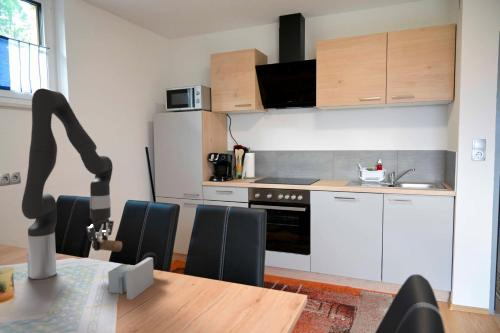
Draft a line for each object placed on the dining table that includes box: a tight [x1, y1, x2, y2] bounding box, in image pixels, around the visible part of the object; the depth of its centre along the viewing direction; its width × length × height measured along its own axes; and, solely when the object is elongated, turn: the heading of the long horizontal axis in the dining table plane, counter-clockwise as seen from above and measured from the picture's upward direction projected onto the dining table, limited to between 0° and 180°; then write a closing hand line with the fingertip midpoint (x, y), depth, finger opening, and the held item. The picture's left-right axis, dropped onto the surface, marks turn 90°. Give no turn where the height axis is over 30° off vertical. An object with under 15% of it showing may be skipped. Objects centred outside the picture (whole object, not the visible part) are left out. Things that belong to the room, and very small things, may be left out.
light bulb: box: [141, 252, 158, 271], centre depth 134 cm, size 6×6×10 cm
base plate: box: [126, 257, 155, 301], centre depth 121 cm, size 2×14×10 cm, turn 166°
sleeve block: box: [107, 264, 136, 295], centre depth 123 cm, size 6×8×8 cm
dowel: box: [91, 238, 123, 253], centre depth 133 cm, size 11×4×4 cm, turn 76°
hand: (100, 248), depth 134 cm, fingers closed on dowel, 4 cm apart
